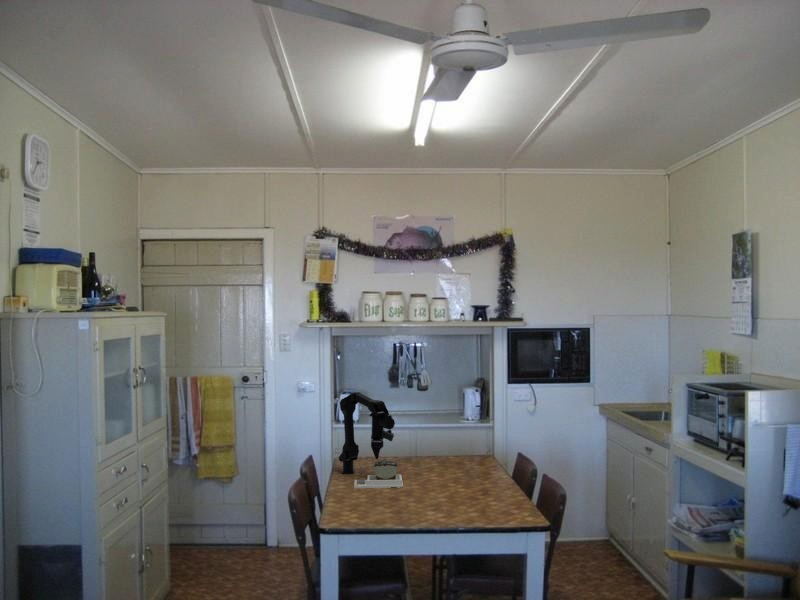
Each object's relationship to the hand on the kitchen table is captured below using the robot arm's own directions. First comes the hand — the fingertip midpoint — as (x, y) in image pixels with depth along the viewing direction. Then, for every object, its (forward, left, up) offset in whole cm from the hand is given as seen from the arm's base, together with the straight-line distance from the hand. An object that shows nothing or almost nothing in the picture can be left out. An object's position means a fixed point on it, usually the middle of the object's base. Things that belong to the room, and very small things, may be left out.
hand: (376, 456), depth 328 cm
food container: (+6, +4, -12) cm, 13 cm away
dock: (+7, +1, -12) cm, 14 cm away
